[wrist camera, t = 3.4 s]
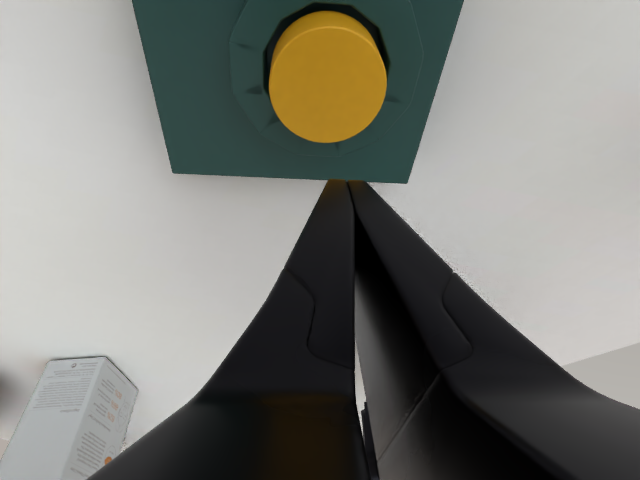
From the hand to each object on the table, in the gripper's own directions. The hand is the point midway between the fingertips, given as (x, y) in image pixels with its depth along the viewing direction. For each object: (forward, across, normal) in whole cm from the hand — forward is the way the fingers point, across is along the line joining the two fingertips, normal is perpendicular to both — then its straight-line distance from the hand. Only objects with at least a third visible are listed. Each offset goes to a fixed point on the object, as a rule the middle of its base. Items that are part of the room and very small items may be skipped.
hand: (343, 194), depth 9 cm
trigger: (+7, 0, 0) cm, 7 cm away
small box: (+11, +20, +33) cm, 40 cm away
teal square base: (+11, +1, +1) cm, 11 cm away
